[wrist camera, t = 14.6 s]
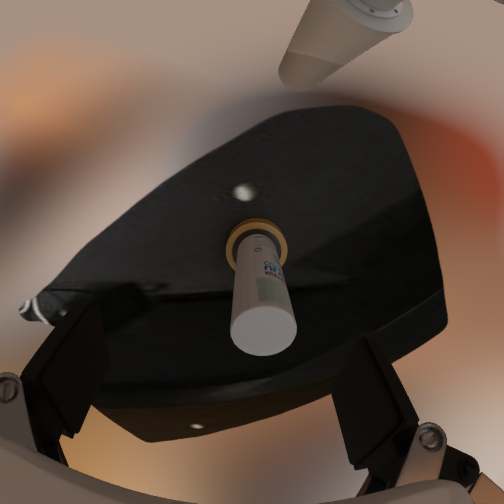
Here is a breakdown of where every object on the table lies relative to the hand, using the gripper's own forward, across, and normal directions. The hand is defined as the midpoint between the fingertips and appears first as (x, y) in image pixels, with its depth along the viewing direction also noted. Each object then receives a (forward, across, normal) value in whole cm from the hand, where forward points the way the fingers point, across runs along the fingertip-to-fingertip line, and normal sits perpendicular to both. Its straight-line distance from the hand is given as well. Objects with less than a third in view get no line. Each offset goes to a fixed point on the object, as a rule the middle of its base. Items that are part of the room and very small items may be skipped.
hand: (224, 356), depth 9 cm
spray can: (+34, -4, +10) cm, 35 cm away
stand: (+36, -4, +10) cm, 38 cm away
